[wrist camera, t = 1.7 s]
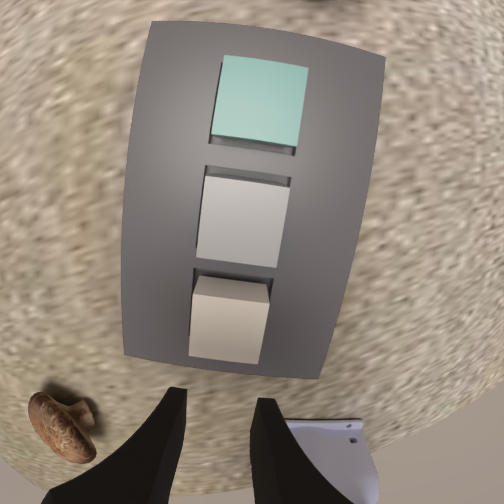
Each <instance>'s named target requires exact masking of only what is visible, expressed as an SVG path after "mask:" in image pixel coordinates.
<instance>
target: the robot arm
mask: <svg viewBox="0 0 504 504" xmlns="http://www.w3.org/2000/svg"><path fill="white" fill-rule="evenodd" d="M186 406H187V389H183V388H176V387H170V388H168V390H167V392H166V394H165V395H164V397H163V398H162V400H161V401H160V403H159V404H158V406H157V407H156V408H155V410H154V411H153V412H152V413H151V415H150V416H149V417H148V418H147V420H146V421H145V422H144V423H143V424H142V426H141V427H140V428H139V429H138V430H137V431H136V432H135V433H134V434H133V435H132V436H131V437H130V438H129V439H128V440H127V441H126V442H125V443H124V444H123V445H122V446H121V447H119V448H118V449H117V450H116V451H115V452H114V453H112V454H111V455H110V456H108V457H107V458H106V459H104V460H103V461H102V462H100V463H99V464H97V465H96V466H94V467H93V468H91V469H89V470H88V471H86V472H84V473H83V474H81V475H79V476H78V477H76V478H74V479H72V480H70V481H68V482H65V483H63V484H61V485H59V486H56V487H54V488H52V489H50V490H49V492H48V493H47V494H46V496H45V498H44V499H43V501H42V502H41V504H168V501H169V495H170V490H171V486H172V483H173V479H174V475H175V472H176V468H177V464H178V461H179V457H180V453H181V450H182V446H183V440H184V433H185V427H186ZM363 425H364V423H363V420H327V421H309V420H285V419H284V418H283V416H282V413H281V411H280V409H279V407H278V405H277V402H276V400H275V399H271V398H258V400H257V404H256V408H255V413H254V417H253V421H252V425H251V430H250V460H251V463H250V468H251V470H252V479H253V488H254V497H255V504H376V503H377V501H378V497H379V478H378V473H377V470H376V468H375V465H374V462H373V459H372V457H371V454H370V451H369V449H368V446H367V443H366V441H365V438H364V435H363V433H362V430H361V429H362V427H363Z"/></svg>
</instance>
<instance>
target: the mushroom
mask: <svg viewBox="0 0 504 504" xmlns="http://www.w3.org/2000/svg"><path fill="white" fill-rule="evenodd" d="M28 413H29V418H30V421H31V423H32V425H33V427H34V429H35V431H36V432H37V434H38V435H39V436H40V437H41V438H42V440H43V441H44V442H45V443H46V444H47V445H48V446H49V447H50V448H51V450H52V451H53V452H55V453H56V454H57V455H58V456H59V457H61V458H63V459H65V460H67V461H69V462H74V463H79V464H85V463H89V462H91V461H93V459H94V458H95V457H96V454H97V453H96V448H95V446H94V444H93V442H92V441H91V439H90V436H89V429H90V428H92V427H94V425H95V421H94V418H93V415H92V412H91V410H90V408H89V406H88V404H87V403H86V401H85V400H83V399H82V400H81V401H79V402H78V403H76V404H74V405H71V406H66V405H63V404H61V403H58V402H57V401H55V400H54V399H53V398H51V397H50V396H49V395H47V394H45V393H43V392H37V393H35V394H34V395H33V396H32V397H31V398H30V401H29V406H28Z"/></svg>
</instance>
